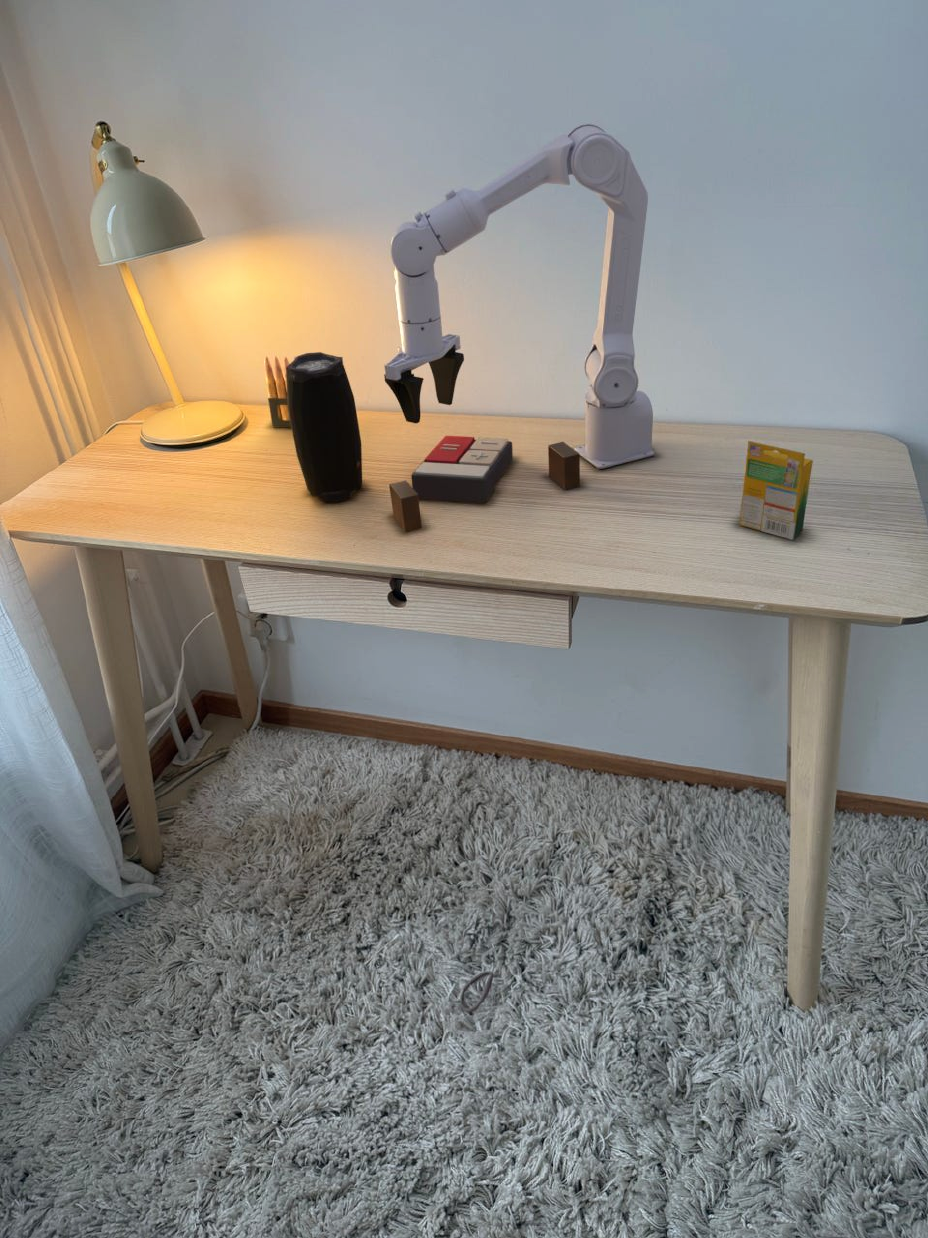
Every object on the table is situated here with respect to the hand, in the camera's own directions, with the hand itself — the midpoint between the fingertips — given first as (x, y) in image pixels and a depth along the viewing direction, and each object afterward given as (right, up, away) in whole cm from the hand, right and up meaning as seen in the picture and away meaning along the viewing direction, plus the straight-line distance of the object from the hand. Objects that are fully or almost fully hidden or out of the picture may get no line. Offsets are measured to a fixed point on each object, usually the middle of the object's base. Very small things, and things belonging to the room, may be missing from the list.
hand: (429, 412), depth 133 cm
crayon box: (+44, -19, -17) cm, 51 cm away
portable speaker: (-14, -11, +2) cm, 18 cm away
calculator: (+5, -9, +2) cm, 11 cm away
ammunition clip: (-23, +3, +24) cm, 33 cm away
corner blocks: (+8, -14, -5) cm, 17 cm away
